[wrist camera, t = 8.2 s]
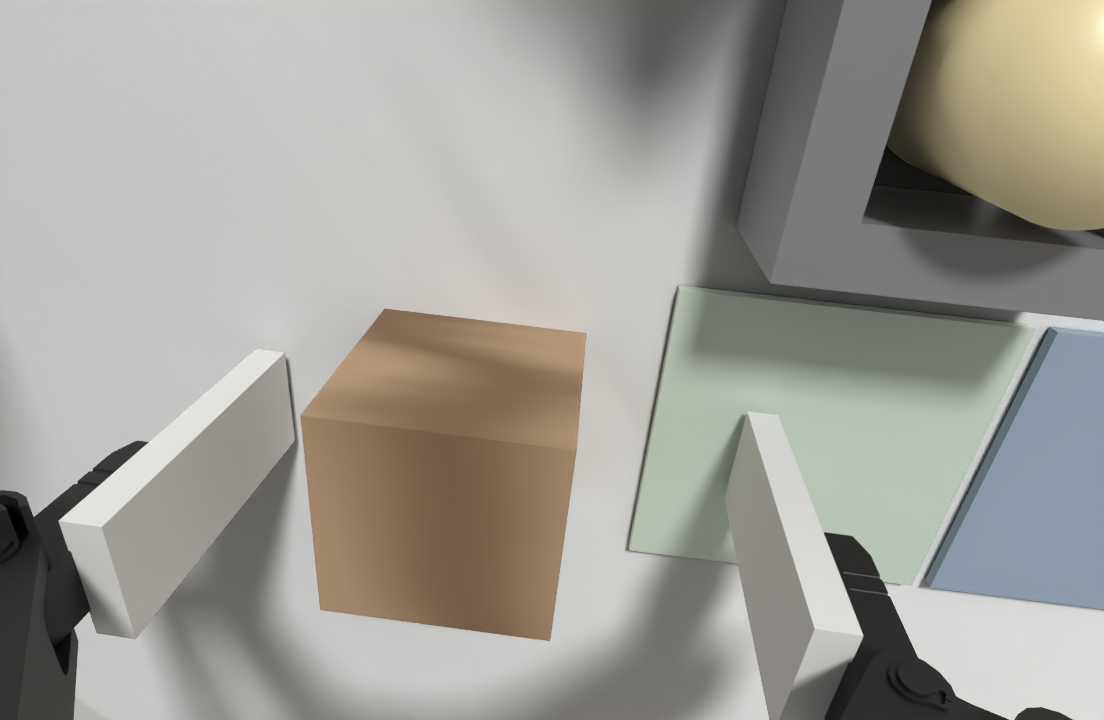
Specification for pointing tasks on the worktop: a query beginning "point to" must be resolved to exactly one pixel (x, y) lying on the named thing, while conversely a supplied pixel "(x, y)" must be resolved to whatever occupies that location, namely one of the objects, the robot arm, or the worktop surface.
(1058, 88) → the button
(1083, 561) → the tile
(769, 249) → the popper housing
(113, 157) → the worktop surface
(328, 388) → the tan wooden cuboid
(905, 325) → the tile
